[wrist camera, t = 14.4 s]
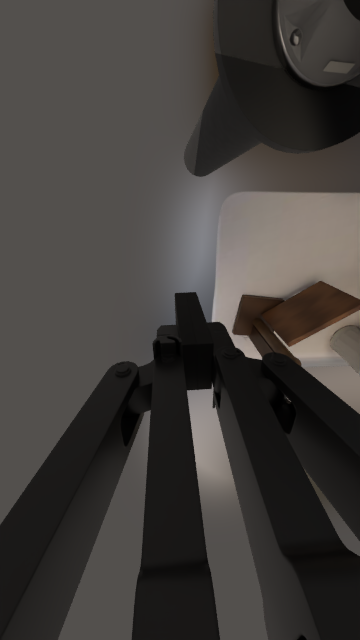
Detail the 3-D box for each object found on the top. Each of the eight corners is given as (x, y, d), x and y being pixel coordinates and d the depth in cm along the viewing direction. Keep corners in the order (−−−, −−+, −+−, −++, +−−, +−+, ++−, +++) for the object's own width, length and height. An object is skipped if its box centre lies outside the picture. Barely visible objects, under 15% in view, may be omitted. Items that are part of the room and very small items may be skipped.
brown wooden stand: (242, 294, 42) (280, 337, 29) (282, 298, 43) (338, 342, 30) (231, 334, 46) (261, 388, 33) (268, 337, 47) (312, 391, 34)
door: (320, 280, 41) (365, 302, 32) (323, 289, 42) (368, 312, 33) (261, 314, 43) (287, 343, 34) (265, 322, 44) (291, 352, 35)
